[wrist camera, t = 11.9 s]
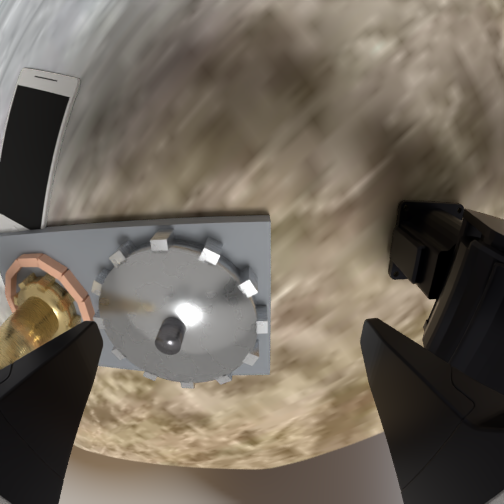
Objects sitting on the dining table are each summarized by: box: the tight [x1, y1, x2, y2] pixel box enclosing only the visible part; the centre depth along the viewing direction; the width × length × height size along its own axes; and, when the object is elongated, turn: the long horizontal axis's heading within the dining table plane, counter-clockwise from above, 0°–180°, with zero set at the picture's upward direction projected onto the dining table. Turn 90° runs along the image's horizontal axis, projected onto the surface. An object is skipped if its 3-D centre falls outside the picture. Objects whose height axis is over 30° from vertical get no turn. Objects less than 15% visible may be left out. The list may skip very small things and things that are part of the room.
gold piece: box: [0, 272, 81, 370], centre depth 17 cm, size 7×7×13 cm
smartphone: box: [0, 68, 81, 233], centre depth 19 cm, size 7×16×1 cm, turn 156°
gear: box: [91, 229, 268, 388], centre depth 21 cm, size 13×13×4 cm
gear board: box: [0, 215, 271, 375], centre depth 23 cm, size 26×14×2 cm, turn 92°
